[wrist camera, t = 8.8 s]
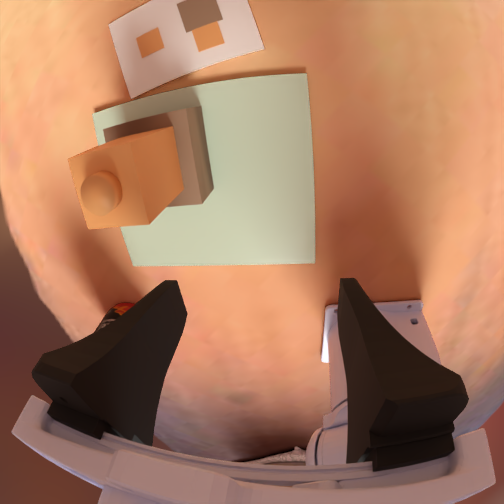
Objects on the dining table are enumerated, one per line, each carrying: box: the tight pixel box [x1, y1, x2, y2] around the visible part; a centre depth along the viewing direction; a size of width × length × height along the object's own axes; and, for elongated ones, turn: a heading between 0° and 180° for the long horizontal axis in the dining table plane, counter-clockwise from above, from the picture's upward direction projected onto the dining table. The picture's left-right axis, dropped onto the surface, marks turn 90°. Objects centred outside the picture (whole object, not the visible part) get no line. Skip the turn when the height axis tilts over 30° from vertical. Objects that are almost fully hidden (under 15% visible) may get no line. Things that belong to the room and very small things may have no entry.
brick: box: [68, 126, 184, 230], centre depth 14 cm, size 4×4×6 cm
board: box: [92, 73, 315, 266], centre depth 20 cm, size 16×14×1 cm
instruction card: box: [109, 0, 265, 99], centre depth 14 cm, size 10×7×1 cm
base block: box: [103, 106, 214, 207], centre depth 18 cm, size 6×6×3 cm
